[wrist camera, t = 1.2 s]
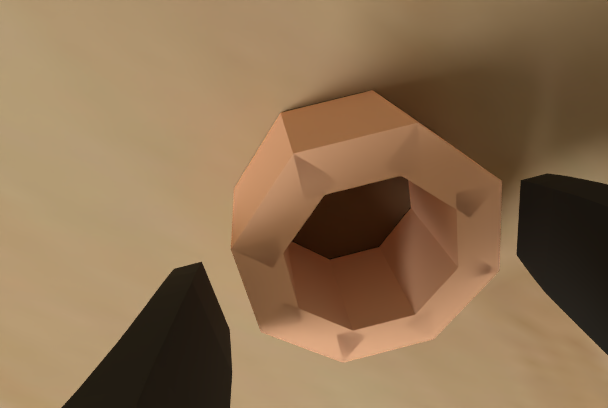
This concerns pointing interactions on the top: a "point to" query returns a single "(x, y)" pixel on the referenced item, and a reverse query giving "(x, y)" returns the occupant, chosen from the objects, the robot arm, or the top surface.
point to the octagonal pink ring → (371, 263)
